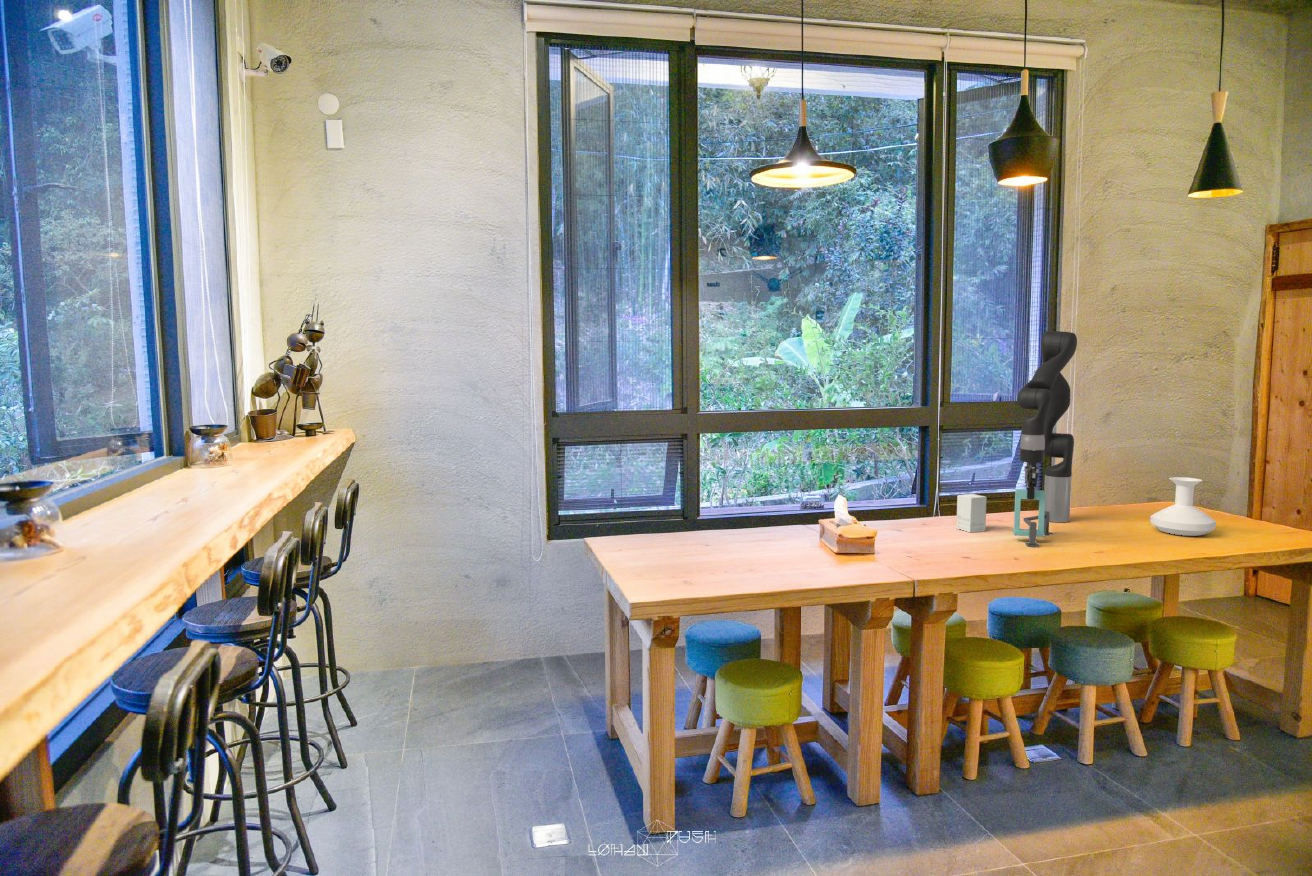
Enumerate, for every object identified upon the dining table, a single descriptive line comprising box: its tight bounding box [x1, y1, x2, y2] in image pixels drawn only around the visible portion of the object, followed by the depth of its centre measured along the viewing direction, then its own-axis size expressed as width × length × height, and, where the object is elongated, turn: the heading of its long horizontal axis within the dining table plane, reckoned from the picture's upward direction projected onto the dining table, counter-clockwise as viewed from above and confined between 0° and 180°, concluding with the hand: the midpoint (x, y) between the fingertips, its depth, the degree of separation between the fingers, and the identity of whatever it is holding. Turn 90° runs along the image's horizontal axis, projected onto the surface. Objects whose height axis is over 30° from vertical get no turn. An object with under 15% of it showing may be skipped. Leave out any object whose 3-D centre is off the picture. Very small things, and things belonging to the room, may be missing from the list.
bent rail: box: [1023, 511, 1053, 548], centre depth 303 cm, size 8×26×8 cm, turn 146°
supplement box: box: [956, 493, 987, 533], centre depth 317 cm, size 7×7×13 cm
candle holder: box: [1149, 476, 1217, 537], centre depth 312 cm, size 20×20×19 cm
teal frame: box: [1012, 488, 1045, 538], centre depth 298 cm, size 4×9×15 cm, turn 75°
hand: (1030, 498), depth 298 cm, fingers closed on teal frame, 1 cm apart
